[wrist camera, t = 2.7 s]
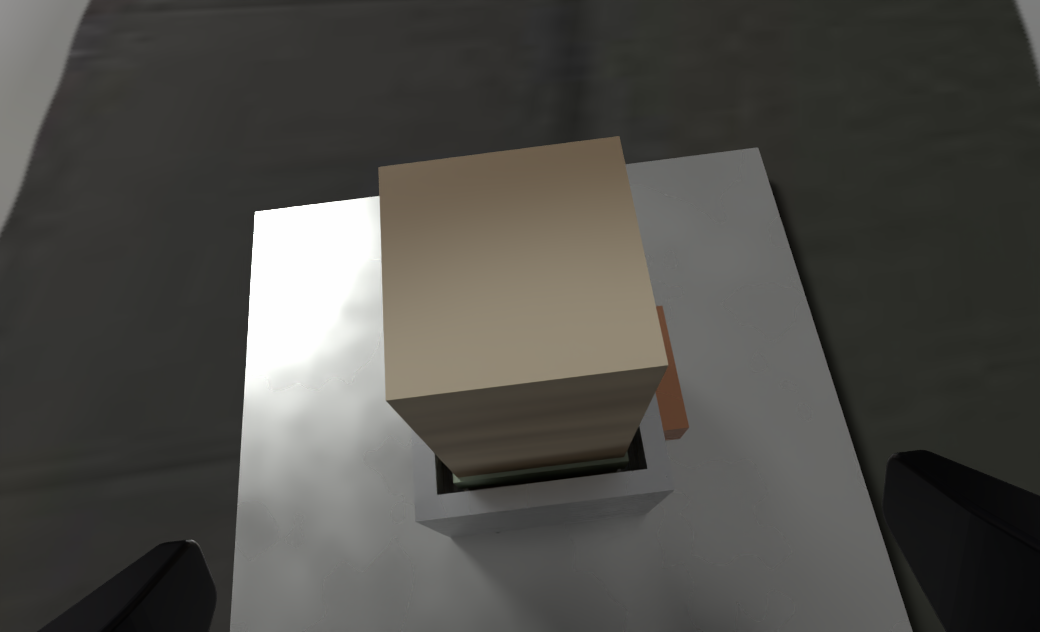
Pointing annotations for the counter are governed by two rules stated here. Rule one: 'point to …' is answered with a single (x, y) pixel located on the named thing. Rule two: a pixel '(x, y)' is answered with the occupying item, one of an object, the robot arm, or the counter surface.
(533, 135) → the counter surface
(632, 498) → the stand
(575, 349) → the post
